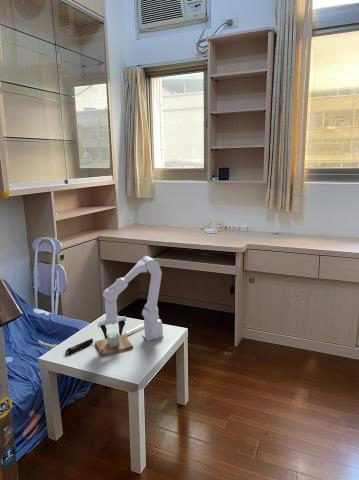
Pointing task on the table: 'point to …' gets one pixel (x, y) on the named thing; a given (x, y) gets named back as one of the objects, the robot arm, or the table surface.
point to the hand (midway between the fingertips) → (113, 336)
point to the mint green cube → (113, 339)
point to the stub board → (108, 350)
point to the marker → (134, 330)
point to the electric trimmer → (78, 347)
